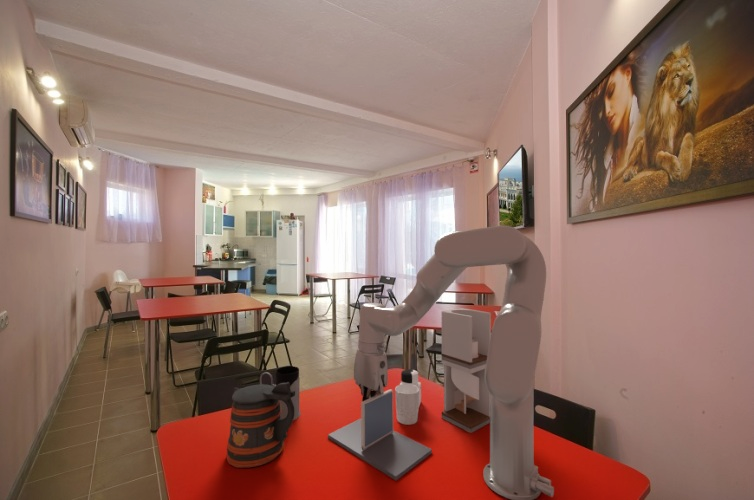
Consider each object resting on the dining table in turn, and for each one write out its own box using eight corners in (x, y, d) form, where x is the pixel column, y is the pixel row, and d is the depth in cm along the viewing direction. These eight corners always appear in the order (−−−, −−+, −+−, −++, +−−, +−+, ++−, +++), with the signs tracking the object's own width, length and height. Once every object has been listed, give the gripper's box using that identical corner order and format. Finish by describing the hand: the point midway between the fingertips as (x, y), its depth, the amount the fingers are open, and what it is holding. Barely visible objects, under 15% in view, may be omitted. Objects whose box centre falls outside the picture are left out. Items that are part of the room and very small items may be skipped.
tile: (390, 431, 96) (393, 433, 96) (361, 449, 88) (364, 451, 87) (390, 389, 97) (393, 390, 96) (361, 402, 88) (363, 403, 87)
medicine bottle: (397, 407, 114) (397, 373, 115) (402, 399, 121) (402, 366, 121) (417, 410, 112) (417, 375, 112) (421, 401, 119) (421, 368, 119)
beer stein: (307, 442, 93) (307, 372, 93) (281, 476, 79) (282, 393, 79) (248, 434, 97) (249, 366, 98) (213, 464, 83) (214, 386, 83)
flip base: (431, 453, 88) (431, 449, 88) (395, 480, 77) (396, 476, 77) (364, 419, 106) (364, 416, 106) (328, 438, 95) (328, 434, 95)
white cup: (419, 414, 110) (419, 384, 110) (419, 426, 102) (419, 394, 102) (395, 413, 110) (395, 383, 111) (394, 425, 103) (394, 393, 103)
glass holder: (294, 422, 104) (294, 375, 104) (253, 419, 106) (253, 372, 106) (304, 409, 113) (304, 366, 113) (266, 406, 115) (266, 364, 115)
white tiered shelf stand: (441, 418, 107) (441, 311, 108) (462, 408, 114) (461, 308, 114) (470, 433, 98) (470, 316, 99) (491, 422, 105) (490, 312, 105)
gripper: (399, 350, 92) (395, 415, 92) (362, 338, 102) (359, 396, 102) (380, 356, 86) (377, 424, 86) (344, 342, 97) (341, 403, 97)
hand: (367, 409), depth 94 cm, fingers closed
